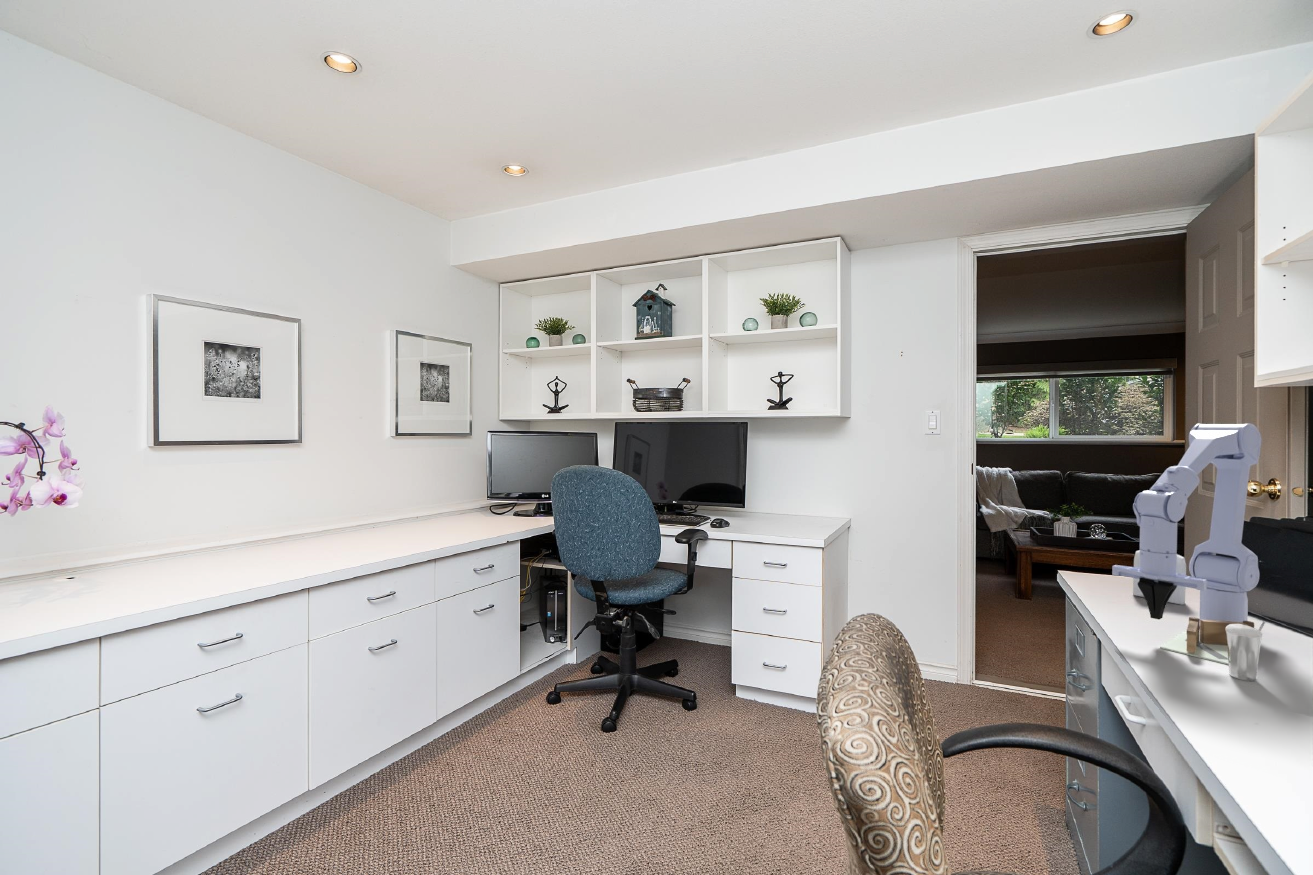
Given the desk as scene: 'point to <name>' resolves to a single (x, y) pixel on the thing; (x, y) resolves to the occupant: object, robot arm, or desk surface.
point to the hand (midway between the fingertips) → (1156, 617)
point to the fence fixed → (1215, 630)
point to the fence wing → (1192, 636)
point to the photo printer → (1179, 592)
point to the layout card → (1198, 649)
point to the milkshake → (1243, 650)
